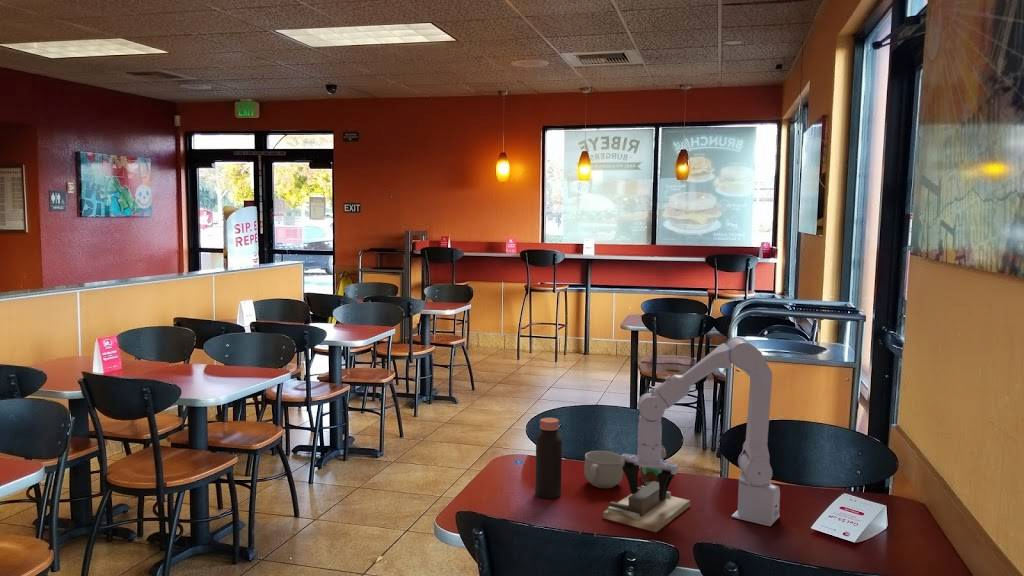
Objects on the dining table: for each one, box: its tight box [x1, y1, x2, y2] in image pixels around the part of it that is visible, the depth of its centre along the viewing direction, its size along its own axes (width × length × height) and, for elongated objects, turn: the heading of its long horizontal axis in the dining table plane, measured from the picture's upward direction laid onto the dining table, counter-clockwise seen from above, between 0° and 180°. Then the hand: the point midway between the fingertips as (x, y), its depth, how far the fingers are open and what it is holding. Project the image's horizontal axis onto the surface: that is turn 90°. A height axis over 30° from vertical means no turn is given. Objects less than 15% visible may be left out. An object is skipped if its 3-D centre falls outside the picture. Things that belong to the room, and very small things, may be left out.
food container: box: [639, 443, 667, 486], centre depth 211 cm, size 12×6×10 cm, turn 179°
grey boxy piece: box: [609, 481, 666, 517], centre depth 191 cm, size 8×14×4 cm, turn 145°
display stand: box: [602, 484, 691, 533], centre depth 190 cm, size 14×20×3 cm
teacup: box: [584, 450, 625, 489], centre depth 207 cm, size 14×11×8 cm
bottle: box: [534, 417, 563, 500], centre depth 200 cm, size 7×7×20 cm
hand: (647, 496), depth 190 cm, fingers open, 7 cm apart
